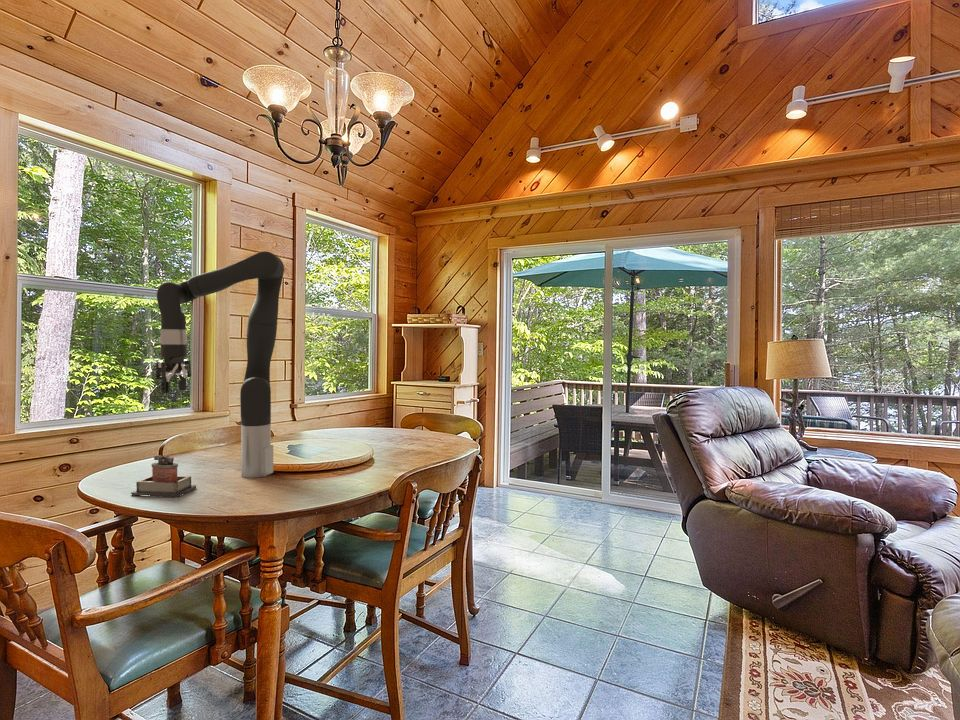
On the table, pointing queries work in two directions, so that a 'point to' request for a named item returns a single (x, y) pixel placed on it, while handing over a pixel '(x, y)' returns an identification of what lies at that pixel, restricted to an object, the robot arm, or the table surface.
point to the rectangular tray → (164, 487)
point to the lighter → (164, 469)
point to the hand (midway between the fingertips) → (174, 391)
